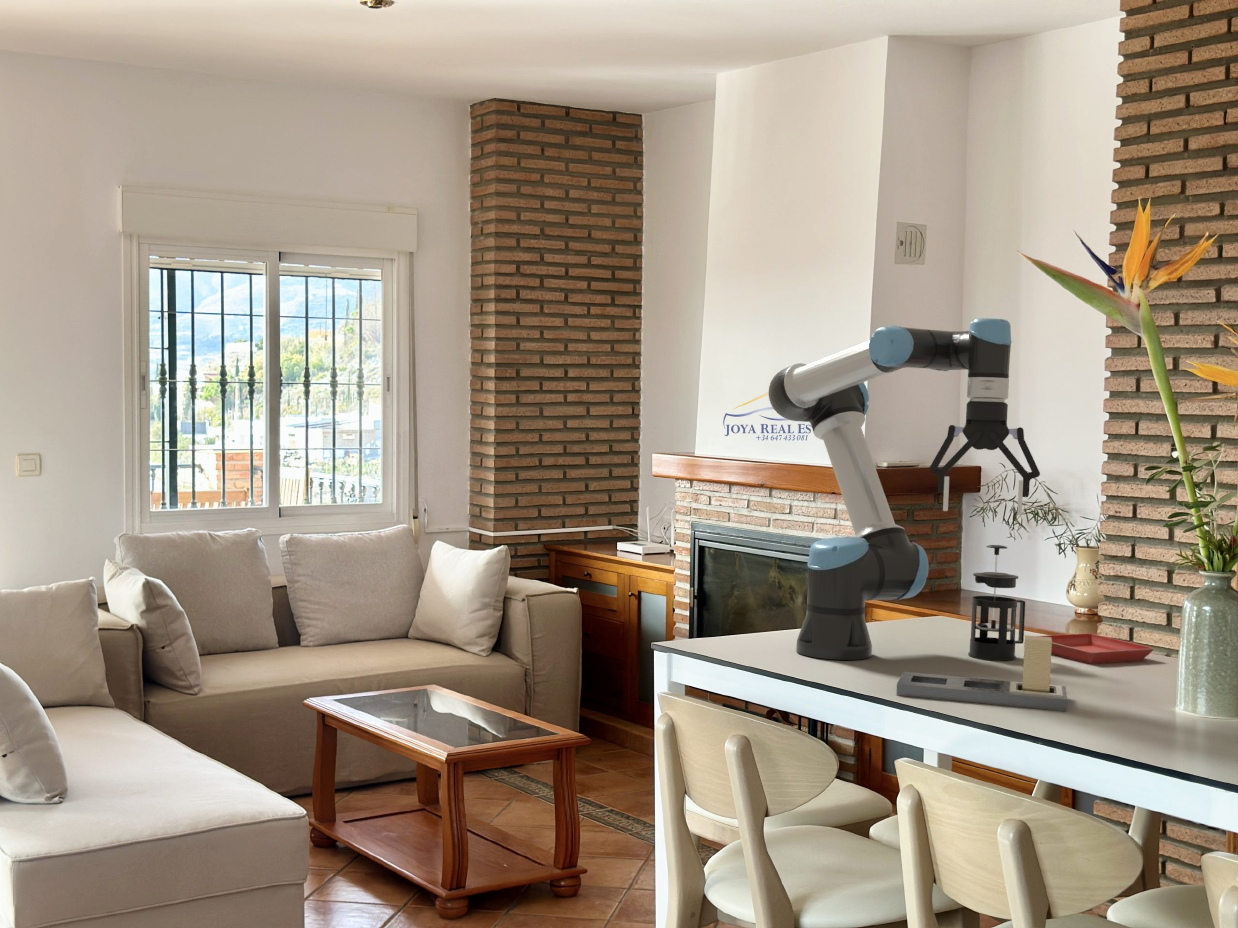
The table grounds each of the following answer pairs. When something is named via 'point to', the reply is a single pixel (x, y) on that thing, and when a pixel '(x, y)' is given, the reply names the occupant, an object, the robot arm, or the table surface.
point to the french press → (986, 645)
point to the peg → (1037, 664)
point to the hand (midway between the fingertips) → (982, 512)
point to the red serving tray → (1096, 648)
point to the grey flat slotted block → (980, 691)
